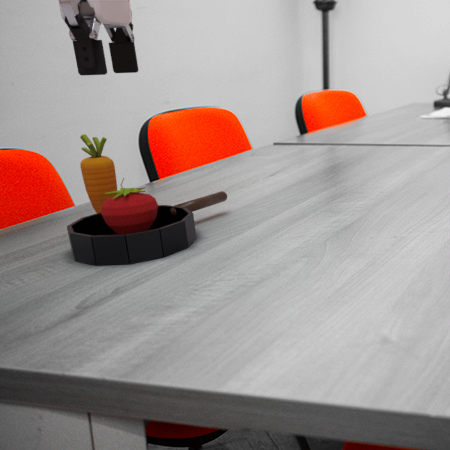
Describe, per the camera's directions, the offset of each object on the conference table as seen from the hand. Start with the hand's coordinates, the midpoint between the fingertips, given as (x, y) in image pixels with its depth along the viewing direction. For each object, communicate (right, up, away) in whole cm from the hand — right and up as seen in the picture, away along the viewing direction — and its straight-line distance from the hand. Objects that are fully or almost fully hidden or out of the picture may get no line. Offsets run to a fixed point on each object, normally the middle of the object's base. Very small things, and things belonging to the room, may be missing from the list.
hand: (110, 73), depth 74 cm
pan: (+1, -21, +14) cm, 26 cm away
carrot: (-11, -20, +21) cm, 31 cm away
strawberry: (-1, -23, +10) cm, 25 cm away
